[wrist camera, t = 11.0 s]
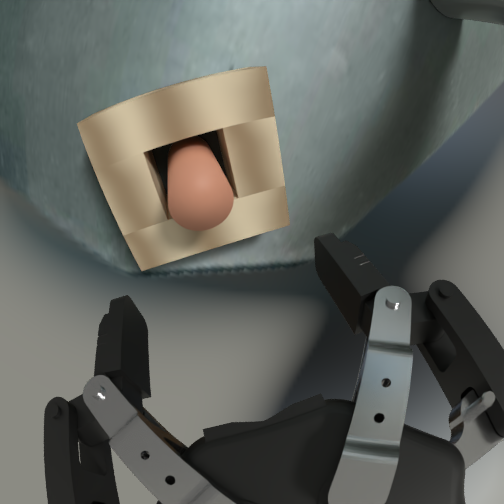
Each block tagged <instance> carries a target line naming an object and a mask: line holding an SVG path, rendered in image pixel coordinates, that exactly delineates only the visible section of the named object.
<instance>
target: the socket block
mask: <svg viewBox="0 0 504 504" xmlns="http://www.w3.org/2000/svg"><path fill="white" fill-rule="evenodd" d="M77 125H78V128H79V131H80V134H81V137H82V140H83V142H84V145H85V148H86V151H87V153H88V156H89V158H90V161H91V163H92V166H93V169H94V171H95V173H96V176H97V178H98V181H99V183H100V185H101V188H102V190H103V192H104V195H105V197H106V199H107V202H108V204H109V206H110V208H111V210H112V213H113V215H114V217H115V219H116V221H117V223H118V225H119V228H120V230H121V232H122V234H123V236H124V238H125V240H126V242H127V244H128V246H129V248H130V250H131V252H132V254H133V256H134V258H135V260H136V261H137V263H138V265H139V267H140V269H141V271H144V270H147V269H150V268H153V267H156V266H159V265H162V264H166V263H169V262H172V261H175V260H178V259H181V258H184V257H188V256H191V255H194V254H197V253H200V252H203V251H207V250H210V249H213V248H216V247H219V246H223V245H226V244H229V243H232V242H236V241H239V240H242V239H245V238H249V237H252V236H255V235H258V234H262V233H265V232H268V231H272V230H275V229H278V228H281V227H285V226H288V225H290V222H289V214H288V206H287V198H286V190H285V182H284V175H283V168H282V161H281V154H280V147H279V140H278V134H277V127H276V121H275V115H274V108H273V102H272V96H271V91H270V85H269V79H268V74H267V68H266V66H264V67H247V68H241V69H236V70H231V71H226V72H221V73H216V74H212V75H208V76H203V77H199V78H195V79H192V80H188V81H184V82H181V83H177V84H174V85H170V86H167V87H164V88H160V89H157V90H154V91H151V92H148V93H145V94H142V95H140V96H137V97H134V98H131V99H129V100H126V101H123V102H121V103H118V104H116V105H113V106H111V107H108V108H106V109H104V110H101V111H99V112H97V113H94V114H92V115H91V116H89V117H87V118H86V119H84V120H82V121H81V122H79V123H77ZM214 130H216V133H217V137H218V141H219V145H220V149H221V154H222V158H223V162H224V166H225V170H226V175H227V177H226V179H227V180H228V182H229V184H230V186H231V188H232V191H233V196H234V202H233V207H232V210H231V212H230V214H229V215H228V217H227V218H226V219H225V220H224V221H223V222H222V223H221V224H219V225H218V226H216V227H214V228H212V229H209V230H204V231H193V230H189V229H186V228H184V227H182V226H180V225H179V224H178V223H176V222H175V220H174V219H173V218H172V216H171V214H170V212H169V208H168V195H167V194H166V191H165V188H164V185H163V182H162V179H161V176H160V174H159V171H158V168H157V165H156V162H155V159H154V156H153V153H152V149H154V148H157V147H160V146H163V145H166V144H169V143H173V142H176V141H179V140H182V139H185V138H189V137H192V136H196V135H199V134H203V133H206V132H210V131H214Z"/></svg>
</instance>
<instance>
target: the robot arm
mask: <svg viewBox="0 0 504 504" xmlns="http://www.w3.org/2000/svg"><path fill="white" fill-rule="evenodd" d="M430 1H431V2H432V4H433V5H434V6H435V7H436V8H437V10H438V11H440V12H441V13H442V14H443V15H445V16H446V17H449V18H456V19H466V20H474V21H481V22H488V23H494V24H499V25H504V0H430ZM314 246H315V265H316V271H317V273H318V276H319V278H320V280H321V281H322V283H323V285H324V286H325V288H326V289H327V291H328V292H329V294H330V296H331V297H332V299H333V300H334V302H335V304H336V305H337V307H338V308H339V310H340V312H341V313H342V315H343V316H344V318H345V320H346V321H347V323H348V324H349V326H350V328H351V330H352V331H353V333H354V334H355V335H356V334H358V333H361V332H364V334H365V335H366V341H365V347H364V352H363V356H362V362H361V366H360V371H359V375H358V379H357V383H356V387H355V391H354V394H353V398H352V401H349V400H343V399H327V400H324V399H323V397H322V395H321V394H319V395H316V396H313V397H311V398H308V399H305V400H303V401H300V402H297V403H294V404H292V405H290V406H289V407H287V408H285V409H284V410H282V411H281V412H279V413H277V414H276V415H274V416H272V417H271V418H269V419H267V420H265V421H259V422H231V423H227V424H223V425H219V426H215V427H211V428H206V429H203V432H204V437H202V438H200V439H198V440H197V441H195V442H194V443H193V444H192V445H191V446H190V447H189V448H188V447H187V446H186V445H184V444H183V443H182V442H180V441H179V440H178V439H176V438H175V437H174V436H173V435H171V434H170V433H169V432H168V431H167V430H166V429H165V428H164V427H163V426H162V425H161V424H160V423H159V422H158V421H157V420H156V419H155V418H154V417H153V416H152V415H151V414H150V413H149V412H148V411H147V410H146V409H145V408H144V407H143V405H142V399H144V398H149V397H151V390H150V376H149V354H148V329H147V325H146V322H145V319H144V318H143V316H142V315H141V313H140V312H139V310H138V309H137V307H136V306H135V304H134V303H133V301H132V300H131V298H130V297H129V296H128V295H126V296H123V297H119V298H116V299H113V300H111V302H110V308H109V313H108V314H105V315H104V317H103V319H102V321H101V323H100V325H99V331H98V336H99V337H98V340H97V345H98V346H97V350H96V360H95V371H94V377H93V378H91V379H90V380H89V381H88V382H87V383H86V385H85V387H84V390H83V394H82V395H80V396H78V397H76V398H75V399H73V400H71V401H69V402H68V401H66V400H65V399H63V398H62V397H55V398H53V399H52V400H50V401H49V403H48V404H47V406H46V408H45V414H44V415H45V416H44V463H45V478H46V489H47V498H48V504H120V503H119V497H118V492H117V488H116V482H115V476H114V469H113V463H112V455H111V448H112V449H113V450H114V451H115V453H116V454H117V455H118V456H119V458H120V459H121V460H122V461H123V462H124V464H125V465H126V466H127V467H128V468H129V469H130V471H132V473H133V474H134V475H135V476H136V477H137V478H138V479H139V480H140V482H141V483H142V484H143V485H144V486H145V487H146V488H147V489H148V490H149V491H150V492H151V493H152V494H153V495H154V496H155V497H156V498H157V499H158V502H157V504H465V498H464V479H465V469H467V468H468V467H469V466H471V465H472V464H473V463H475V462H476V461H477V460H478V459H480V458H481V457H482V456H483V455H485V454H486V453H487V452H489V451H490V450H491V449H492V448H493V447H494V446H496V445H497V444H498V443H500V442H501V441H503V440H504V349H503V348H502V347H501V345H500V343H499V342H498V341H497V339H496V338H495V336H494V335H493V333H492V332H491V330H490V329H489V328H488V326H487V325H486V324H485V322H484V321H483V320H482V318H481V317H480V315H479V314H478V313H477V312H476V310H475V309H474V308H473V306H472V305H471V304H470V303H469V301H468V300H467V299H466V297H465V296H464V295H463V294H462V292H461V291H460V290H459V289H458V288H457V287H456V285H454V284H453V283H451V282H449V281H446V280H437V281H435V282H433V283H432V284H431V285H430V288H429V290H428V291H426V292H419V293H407V292H406V291H405V290H404V289H402V288H400V287H396V286H391V285H390V284H389V283H388V282H387V281H386V280H385V278H384V277H383V276H382V275H381V274H380V272H379V271H378V270H377V269H376V268H375V266H373V264H372V263H371V262H369V260H368V258H367V257H366V256H364V254H363V253H362V251H361V250H360V249H359V248H358V247H357V246H356V245H354V244H352V243H350V242H348V241H343V242H340V240H339V239H338V238H337V237H336V236H335V235H334V234H333V233H328V234H325V235H322V236H319V237H316V238H315V239H314ZM415 344H416V345H417V346H418V348H419V350H420V351H421V353H422V355H423V357H424V358H425V360H426V362H427V363H428V365H429V367H430V368H431V370H432V372H433V374H434V376H435V377H436V379H437V381H438V382H439V384H440V386H441V388H442V390H443V392H444V394H445V395H446V397H447V399H448V401H449V403H450V405H451V407H452V410H451V412H450V414H449V427H450V430H451V439H450V441H447V440H445V439H442V438H439V437H436V436H434V435H431V434H428V433H426V432H423V431H421V430H418V429H416V428H413V427H410V426H408V425H406V424H404V420H405V414H406V408H407V402H408V395H409V388H410V379H411V370H412V360H413V351H412V349H411V348H410V345H415ZM78 442H79V449H80V461H81V464H80V461H79V451H78ZM110 446H111V447H110Z"/></svg>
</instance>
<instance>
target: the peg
mask: <svg viewBox="0 0 504 504" xmlns="http://www.w3.org/2000/svg"><path fill="white" fill-rule="evenodd" d="M233 202H234V196H233V191H232V188H231V186H230V184H229V182H228V180H227V179H226V177H225V175H224V173H223V171H222V169H221V167H220V165H219V164H218V162H217V160H216V158H215V156H214V154H213V152H212V151H211V149H210V147H209V145H208V144H207V142H206V141H205V140H203V139H202V138H200V137H198V136H192V137H189V138H185V139H182V140H179V141H176V142H174V143H173V144H172V146H171V147H170V149H169V152H168V208H169V212H170V214H171V216H172V218H173V219H174V220H175V222H176V223H178V224H179V225H180V226H182V227H184V228H186V229H189V230H193V231H204V230H209V229H212V228H214V227H216V226H218V225H219V224H221V223H222V222H223V221H224V220H225V219H226V218H227V217H228V215H229V214H230V212H231V210H232V207H233Z"/></svg>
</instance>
